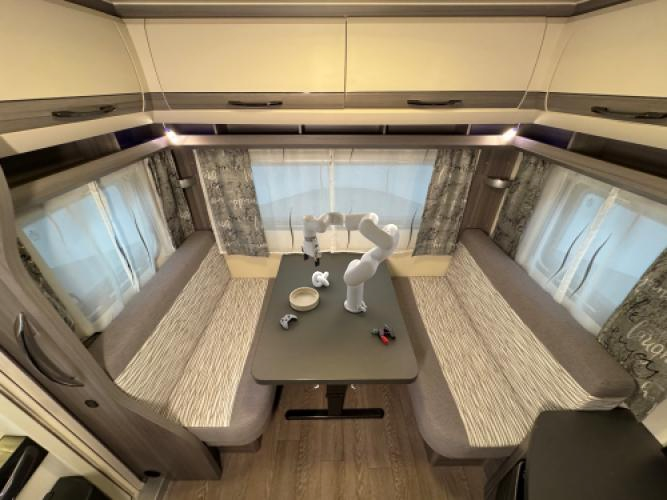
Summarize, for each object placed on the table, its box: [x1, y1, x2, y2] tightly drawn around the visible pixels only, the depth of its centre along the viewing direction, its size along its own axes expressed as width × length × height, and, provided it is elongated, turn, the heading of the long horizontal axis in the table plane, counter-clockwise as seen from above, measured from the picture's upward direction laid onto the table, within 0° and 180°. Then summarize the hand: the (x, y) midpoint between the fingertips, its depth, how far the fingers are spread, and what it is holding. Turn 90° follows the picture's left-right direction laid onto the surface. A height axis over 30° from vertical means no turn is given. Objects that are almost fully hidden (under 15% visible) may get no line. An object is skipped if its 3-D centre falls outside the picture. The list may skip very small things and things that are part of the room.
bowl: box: [289, 286, 320, 312], centre depth 161 cm, size 18×18×4 cm
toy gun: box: [371, 323, 396, 345], centre depth 135 cm, size 10×12×5 cm
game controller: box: [279, 313, 298, 330], centre depth 146 cm, size 10×5×6 cm
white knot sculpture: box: [311, 271, 330, 288], centre depth 175 cm, size 11×12×9 cm
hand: (311, 262), depth 152 cm, fingers open, 9 cm apart
